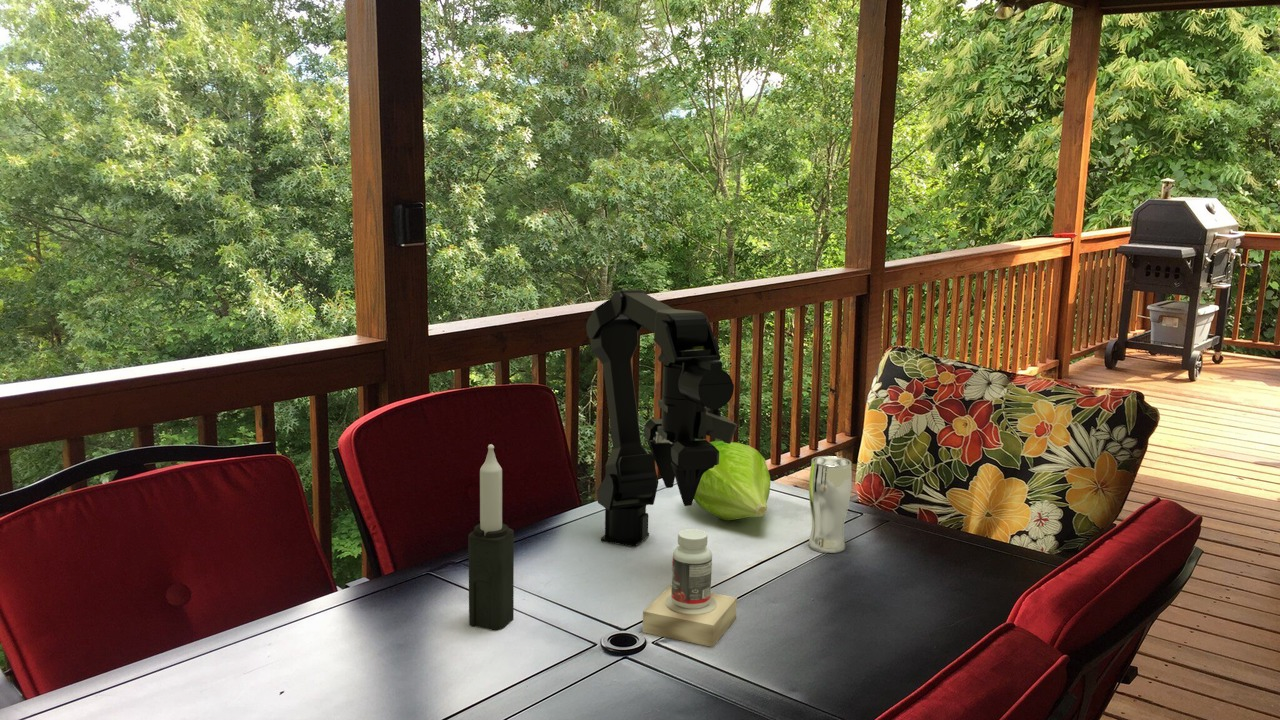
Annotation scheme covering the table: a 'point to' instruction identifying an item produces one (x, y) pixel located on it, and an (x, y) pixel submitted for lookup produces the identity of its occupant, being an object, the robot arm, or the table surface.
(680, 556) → the pill bottle
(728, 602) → the pedestal
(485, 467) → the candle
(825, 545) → the beer glass
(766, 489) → the lettuce
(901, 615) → the table surface
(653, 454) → the robot arm
